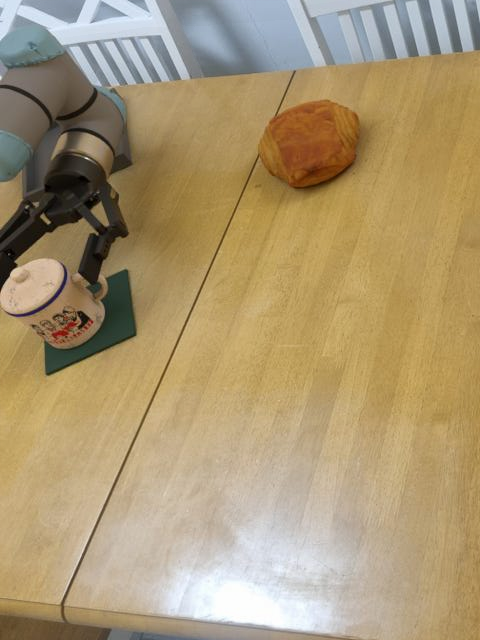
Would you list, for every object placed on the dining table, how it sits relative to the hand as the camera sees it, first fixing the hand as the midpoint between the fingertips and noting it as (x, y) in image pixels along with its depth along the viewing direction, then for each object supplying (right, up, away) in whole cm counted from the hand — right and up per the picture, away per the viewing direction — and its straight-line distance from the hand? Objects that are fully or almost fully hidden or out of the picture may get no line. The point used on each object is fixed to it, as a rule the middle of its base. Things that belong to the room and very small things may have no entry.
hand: (39, 288), depth 94 cm
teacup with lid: (+2, -4, +8) cm, 9 cm away
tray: (-12, +26, +30) cm, 42 cm away
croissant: (+32, +21, +16) cm, 42 cm away
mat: (+2, -4, +8) cm, 9 cm away
